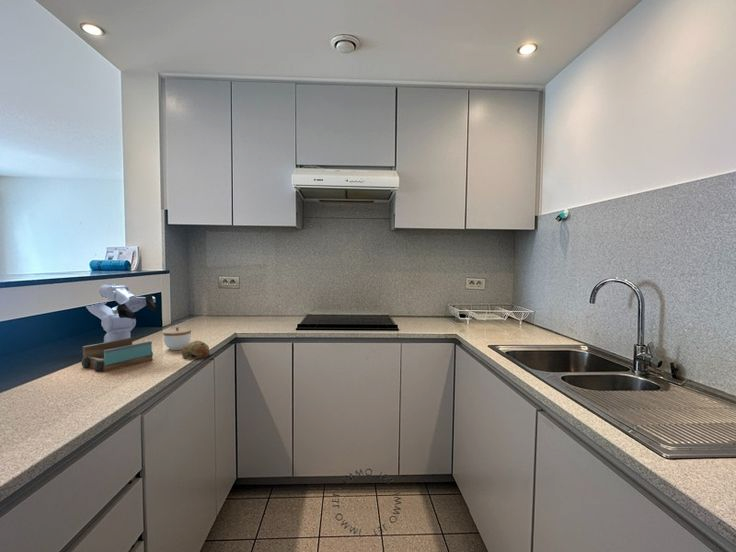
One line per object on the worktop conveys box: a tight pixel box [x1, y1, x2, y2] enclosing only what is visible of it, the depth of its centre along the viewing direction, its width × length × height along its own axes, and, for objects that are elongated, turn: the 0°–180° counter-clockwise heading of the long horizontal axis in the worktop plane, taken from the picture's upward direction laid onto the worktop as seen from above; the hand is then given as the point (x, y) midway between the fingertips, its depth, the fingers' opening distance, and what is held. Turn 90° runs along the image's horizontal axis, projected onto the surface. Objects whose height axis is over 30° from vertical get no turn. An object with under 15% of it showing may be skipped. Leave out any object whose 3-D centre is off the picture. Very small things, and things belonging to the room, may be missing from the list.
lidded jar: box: [162, 326, 192, 351], centre depth 148 cm, size 11×11×9 cm
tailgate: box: [104, 340, 153, 365], centre depth 123 cm, size 1×16×5 cm, turn 155°
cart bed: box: [80, 337, 154, 373], centre depth 126 cm, size 14×18×7 cm
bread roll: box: [181, 340, 210, 360], centre depth 137 cm, size 10×10×8 cm
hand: (145, 312), depth 128 cm, fingers open, 7 cm apart
